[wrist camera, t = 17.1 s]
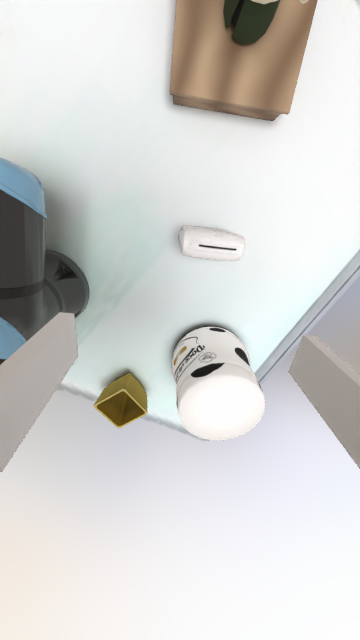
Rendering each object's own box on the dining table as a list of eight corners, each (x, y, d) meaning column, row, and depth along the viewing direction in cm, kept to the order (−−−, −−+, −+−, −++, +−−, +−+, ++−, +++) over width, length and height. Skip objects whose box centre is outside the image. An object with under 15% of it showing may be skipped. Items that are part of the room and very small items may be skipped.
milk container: (167, 325, 51) (165, 377, 35) (242, 317, 51) (276, 365, 35) (176, 383, 59) (177, 449, 43) (241, 376, 59) (268, 439, 42)
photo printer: (176, 247, 44) (178, 258, 33) (179, 223, 42) (182, 227, 31) (227, 253, 45) (246, 266, 34) (232, 230, 43) (254, 236, 32)
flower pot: (103, 379, 57) (92, 406, 49) (130, 363, 56) (123, 388, 47) (125, 400, 61) (118, 429, 53) (151, 385, 59) (148, 413, 51)
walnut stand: (170, 107, 35) (169, 92, 30) (183, -71, 28) (185, -126, 23) (274, 125, 36) (289, 112, 32) (313, -41, 29) (339, -87, 25)
